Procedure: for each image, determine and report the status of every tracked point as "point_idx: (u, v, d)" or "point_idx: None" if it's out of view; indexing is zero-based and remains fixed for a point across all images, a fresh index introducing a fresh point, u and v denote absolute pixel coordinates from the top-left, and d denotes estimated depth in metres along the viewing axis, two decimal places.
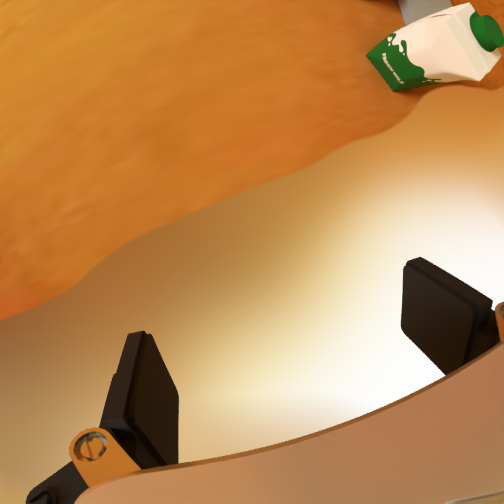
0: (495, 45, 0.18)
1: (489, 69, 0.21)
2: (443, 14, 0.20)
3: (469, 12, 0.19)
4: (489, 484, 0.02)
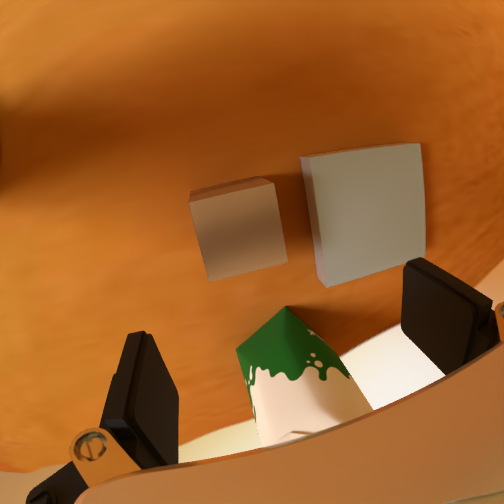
0: None
1: None
2: None
3: None
4: (489, 484, 0.02)
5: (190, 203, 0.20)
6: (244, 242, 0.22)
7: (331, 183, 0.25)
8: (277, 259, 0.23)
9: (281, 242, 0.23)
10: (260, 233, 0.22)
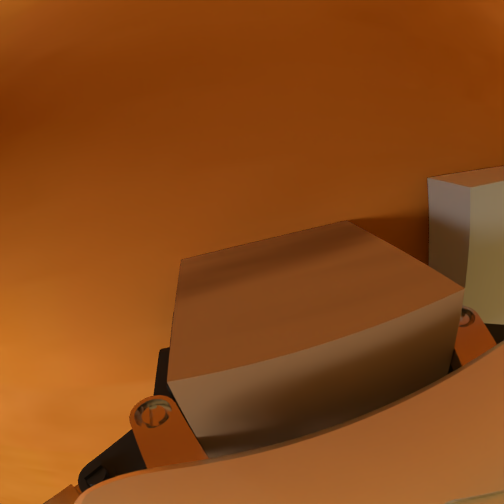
0: None
1: None
2: None
3: None
4: (489, 484, 0.02)
5: (175, 383, 0.05)
6: None
7: (492, 244, 0.09)
8: None
9: None
10: None
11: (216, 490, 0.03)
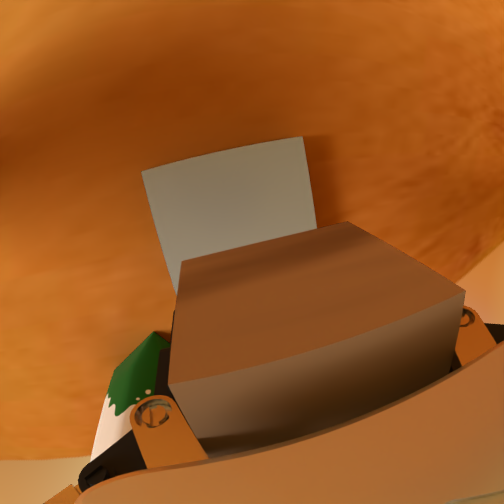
0: None
1: None
2: None
3: None
4: (489, 484, 0.02)
5: (176, 386, 0.05)
6: None
7: (170, 199, 0.22)
8: None
9: None
10: None
11: (216, 490, 0.03)
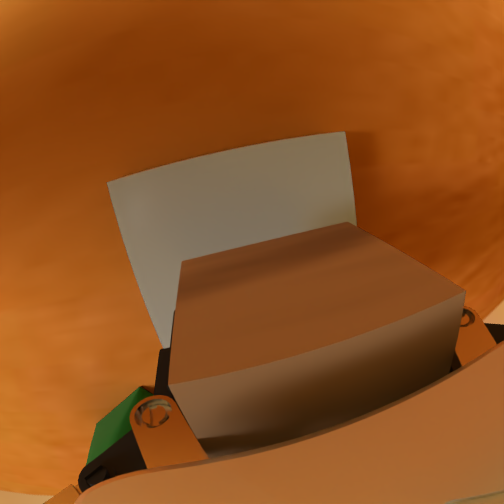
0: None
1: None
2: None
3: None
4: (489, 484, 0.02)
5: (176, 387, 0.05)
6: None
7: (151, 223, 0.14)
8: None
9: None
10: None
11: (216, 490, 0.03)
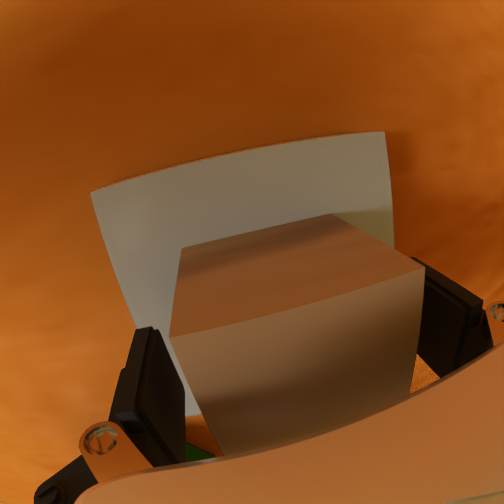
0: None
1: None
2: None
3: None
4: (489, 484, 0.02)
5: (175, 339, 0.06)
6: (325, 412, 0.08)
7: (145, 244, 0.11)
8: None
9: (403, 393, 0.08)
10: (367, 389, 0.08)
11: (216, 490, 0.03)
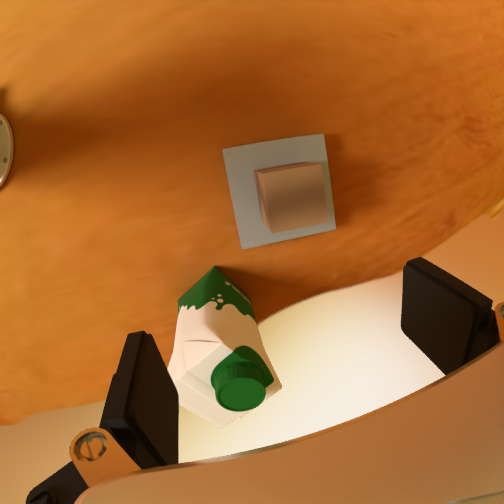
0: None
1: (242, 415, 0.26)
2: (176, 364, 0.25)
3: (215, 361, 0.23)
4: (489, 484, 0.02)
5: (263, 174, 0.29)
6: (299, 205, 0.30)
7: (240, 168, 0.34)
8: (321, 219, 0.31)
9: (324, 206, 0.31)
10: (310, 199, 0.30)
11: (216, 490, 0.03)
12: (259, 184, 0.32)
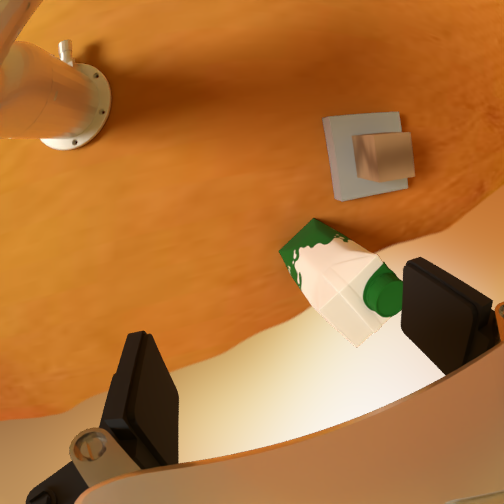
0: (387, 316, 0.28)
1: (376, 329, 0.31)
2: (332, 283, 0.30)
3: (370, 273, 0.28)
4: (489, 484, 0.02)
5: (374, 135, 0.33)
6: (397, 161, 0.35)
7: (342, 133, 0.39)
8: (410, 173, 0.36)
9: (412, 164, 0.35)
10: (404, 158, 0.35)
11: (216, 490, 0.03)
12: (363, 145, 0.37)
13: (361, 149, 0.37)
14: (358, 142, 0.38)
